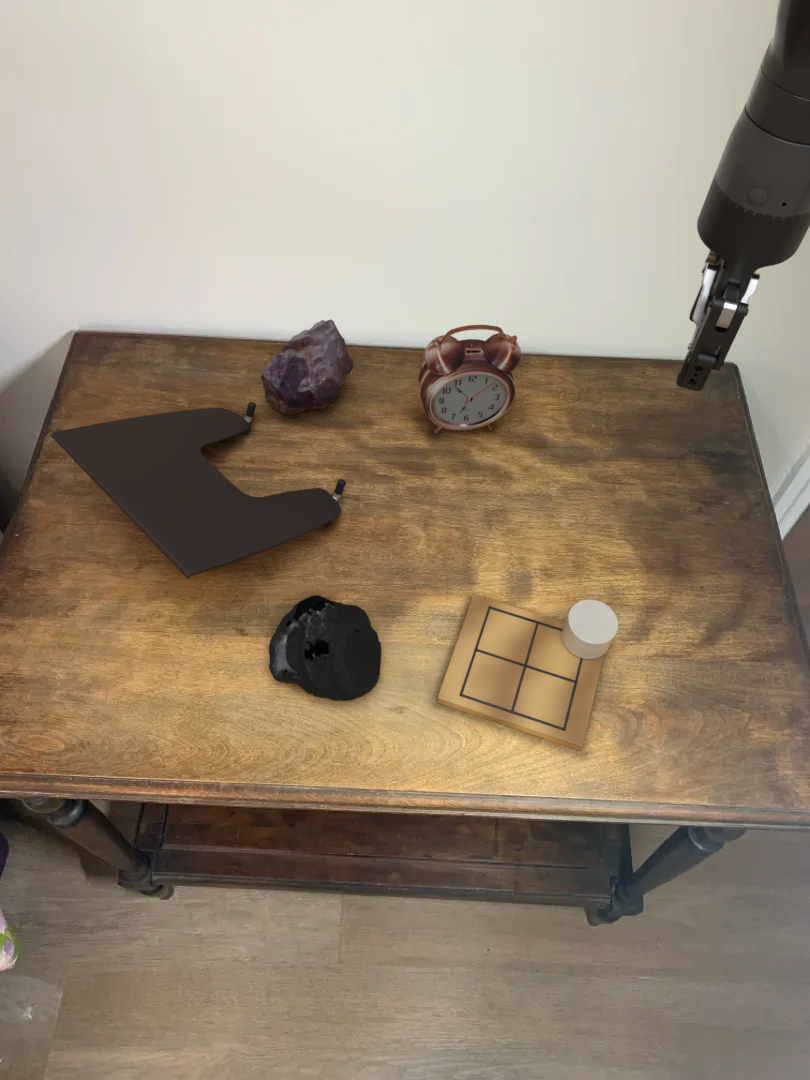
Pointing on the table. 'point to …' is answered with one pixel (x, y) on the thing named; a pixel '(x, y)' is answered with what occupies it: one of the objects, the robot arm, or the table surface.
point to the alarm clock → (468, 379)
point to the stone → (589, 629)
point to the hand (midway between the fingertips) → (694, 352)
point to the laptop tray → (191, 487)
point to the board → (520, 673)
